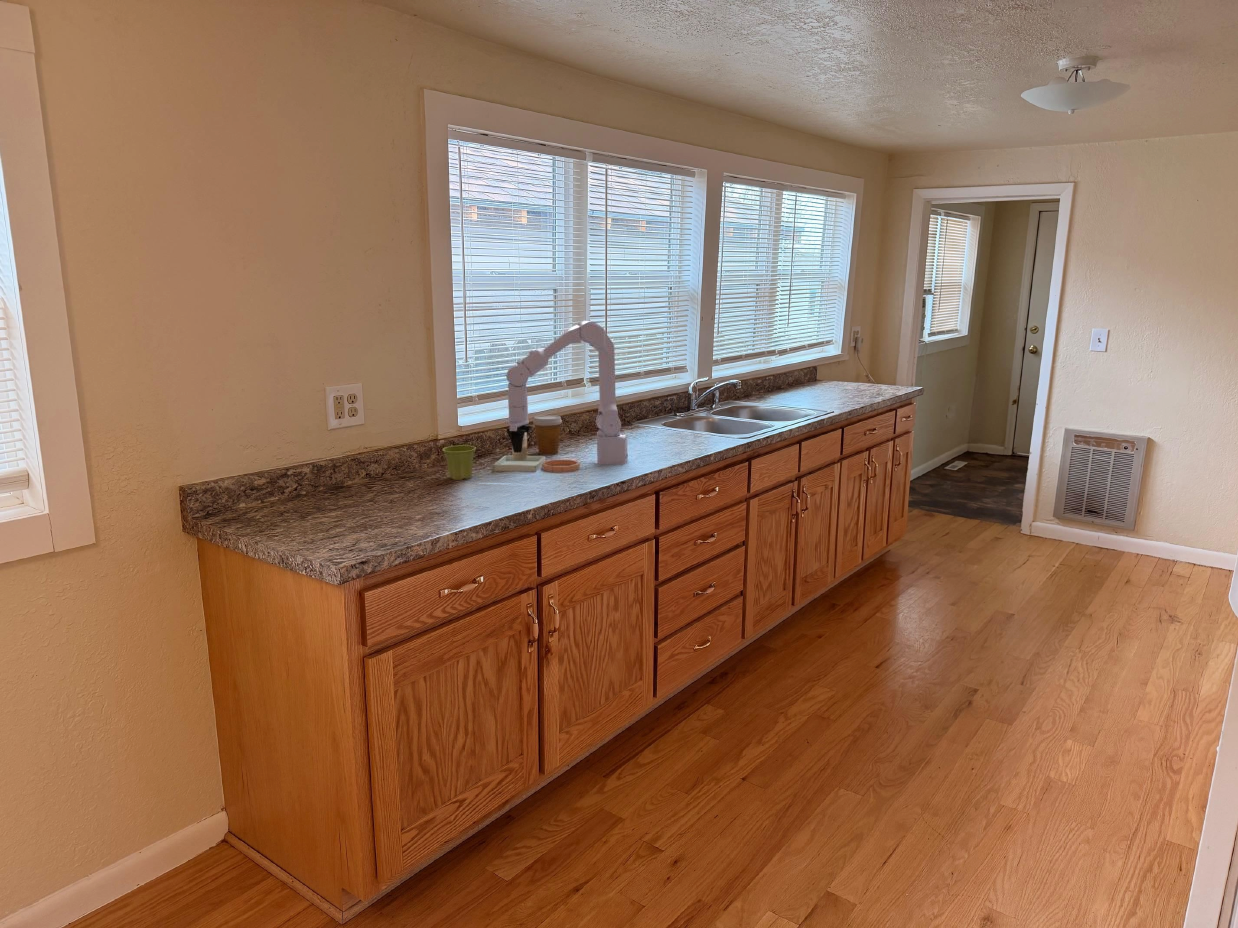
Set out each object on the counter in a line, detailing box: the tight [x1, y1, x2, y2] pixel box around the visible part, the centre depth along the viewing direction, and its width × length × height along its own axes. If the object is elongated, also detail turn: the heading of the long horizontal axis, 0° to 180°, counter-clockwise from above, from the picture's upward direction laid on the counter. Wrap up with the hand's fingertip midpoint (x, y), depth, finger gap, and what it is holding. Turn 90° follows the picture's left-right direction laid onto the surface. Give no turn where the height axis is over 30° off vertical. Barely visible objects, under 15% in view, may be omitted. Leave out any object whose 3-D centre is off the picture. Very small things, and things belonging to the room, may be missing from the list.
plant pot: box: [442, 444, 477, 481], centre depth 246 cm, size 9×9×9 cm
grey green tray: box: [492, 455, 547, 472], centre depth 259 cm, size 13×14×2 cm
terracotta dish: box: [541, 458, 581, 473], centre depth 256 cm, size 11×11×2 cm
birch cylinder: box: [511, 432, 528, 460], centre depth 258 cm, size 4×4×8 cm
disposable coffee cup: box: [532, 414, 563, 456], centre depth 280 cm, size 10×10×12 cm
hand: (519, 450), depth 258 cm, fingers open, 4 cm apart
